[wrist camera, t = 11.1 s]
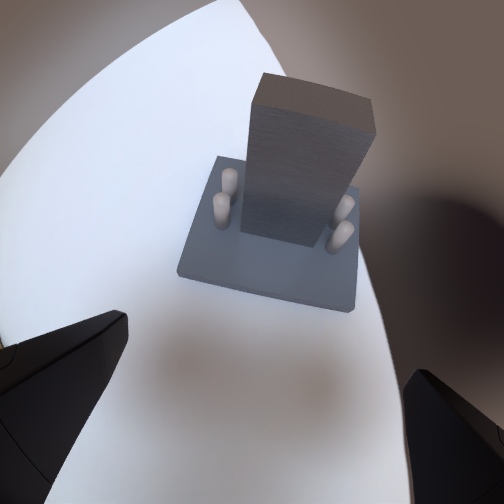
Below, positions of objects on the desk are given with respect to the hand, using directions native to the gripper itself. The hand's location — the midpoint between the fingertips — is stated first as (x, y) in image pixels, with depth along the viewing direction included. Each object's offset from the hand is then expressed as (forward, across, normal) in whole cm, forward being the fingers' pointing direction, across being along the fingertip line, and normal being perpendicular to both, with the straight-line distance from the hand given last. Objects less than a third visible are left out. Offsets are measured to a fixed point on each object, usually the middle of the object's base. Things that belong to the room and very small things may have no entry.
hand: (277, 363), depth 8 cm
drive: (+17, 0, 0) cm, 17 cm away
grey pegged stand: (+18, 0, +1) cm, 18 cm away
